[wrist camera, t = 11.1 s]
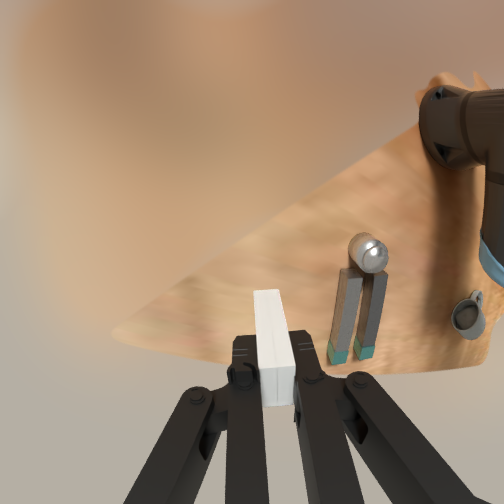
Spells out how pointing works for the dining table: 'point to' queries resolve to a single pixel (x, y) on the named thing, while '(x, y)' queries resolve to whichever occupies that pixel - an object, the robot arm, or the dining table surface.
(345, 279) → the tong swing arm
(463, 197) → the dining table surface
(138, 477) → the robot arm
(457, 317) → the ceramic mug
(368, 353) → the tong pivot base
